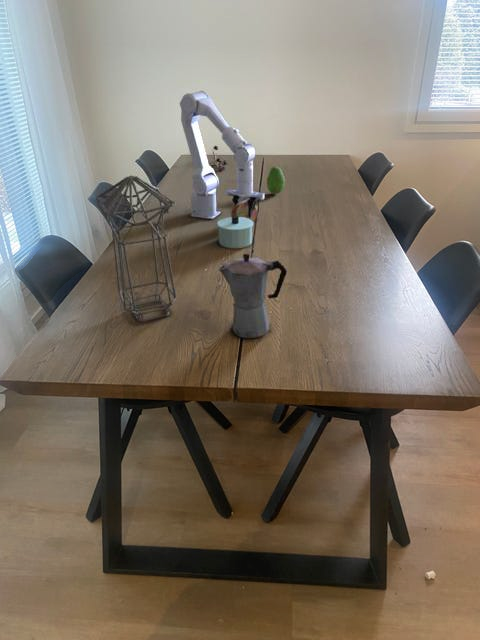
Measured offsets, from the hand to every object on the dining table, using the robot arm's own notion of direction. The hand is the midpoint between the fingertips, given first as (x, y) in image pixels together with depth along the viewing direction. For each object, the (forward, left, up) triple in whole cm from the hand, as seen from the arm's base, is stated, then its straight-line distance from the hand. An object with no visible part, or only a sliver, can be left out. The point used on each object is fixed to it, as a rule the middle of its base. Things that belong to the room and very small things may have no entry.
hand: (245, 216), depth 173 cm
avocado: (-1, +38, +4) cm, 38 cm away
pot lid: (+4, -19, +4) cm, 20 cm away
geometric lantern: (+1, -70, -3) cm, 70 cm away
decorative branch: (-45, +74, -3) cm, 87 cm away
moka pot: (+29, -68, -3) cm, 74 cm away
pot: (+4, -19, -3) cm, 20 cm away
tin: (0, 0, -3) cm, 3 cm away
